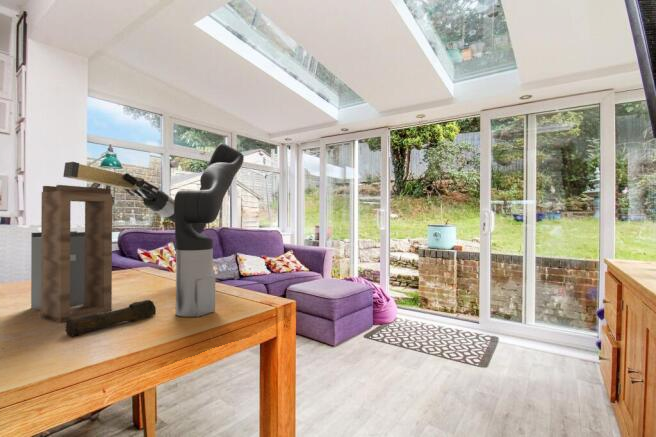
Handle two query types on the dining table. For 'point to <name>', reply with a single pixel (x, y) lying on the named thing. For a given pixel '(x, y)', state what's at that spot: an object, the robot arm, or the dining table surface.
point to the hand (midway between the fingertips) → (120, 175)
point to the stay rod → (96, 175)
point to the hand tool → (111, 318)
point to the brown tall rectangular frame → (58, 252)
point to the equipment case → (75, 269)
